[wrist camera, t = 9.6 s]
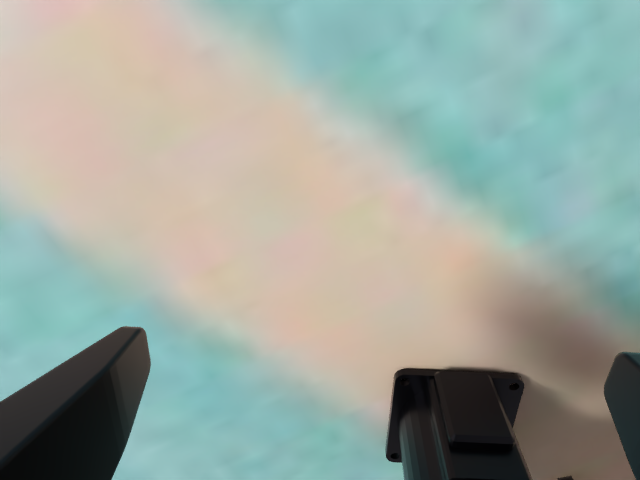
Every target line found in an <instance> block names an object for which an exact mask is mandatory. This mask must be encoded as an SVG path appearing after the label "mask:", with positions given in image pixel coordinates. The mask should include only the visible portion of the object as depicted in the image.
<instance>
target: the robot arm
mask: <svg viewBox="0 0 640 480" xmlns="http://www.w3.org/2000/svg"><path fill="white" fill-rule="evenodd" d="M150 365H151V361H150V355H149V348H148V342H147V336H146V332H145V330H144V329H143V328H141V327H127V326H124V327H120V328H118V329H117V330H115V331H114V332H112V333H110V334H109V335H107V336H106V337H104V338H102V339H101V340H99V341H97V342H96V343H94V344H93V345H91V346H89V347H88V348H86V349H85V350H83V351H81V352H80V353H78V354H77V355H75V356H73V357H72V358H70V359H68V360H67V361H65V362H64V363H62V364H60V365H59V366H57V367H56V368H54V369H52V370H51V371H49V372H48V373H46V374H44V375H43V376H41V377H39V378H38V379H36V380H35V381H33V382H31V383H30V384H28V385H27V386H25V387H23V388H22V389H20V390H19V391H17V392H15V393H14V394H12V395H10V396H9V397H7V398H6V399H4V400H2V401H1V402H0V480H111V479H112V477H113V475H114V472H115V470H116V468H117V466H118V463H119V461H120V459H121V457H122V454H123V452H124V449H125V447H126V444H127V441H128V438H129V435H130V432H131V429H132V426H133V423H134V420H135V417H136V413H137V410H138V407H139V404H140V401H141V398H142V394H143V391H144V388H145V385H146V382H147V379H148V375H149V372H150ZM403 378H406V379H407V380H401V379H403ZM512 383H515V384H513V385H510V384H512ZM523 389H524V383H523V381H522V379H521V377H520V376H519V375H518V374H512V373H488V372H464V371H439V370H415V369H401V370H399V371H397V372H396V373H395V375H394V381H393V390H392V398H391V407H390V416H389V424H388V433H387V441H386V458H387V459H388V460H389V461H391V462H402V464H403V472H404V480H532V477H531V475H530V472H529V470H528V467H527V465H526V462H525V460H524V457H523V455H522V452H521V449H520V447H519V444H518V442H517V439H516V437H515V434H514V432H513V429H512V428H513V425H514V421H515V417H516V414H517V410H518V407H519V403H520V400H521V396H522V393H523ZM604 395H605V399H606V402H607V405H608V407H609V410H610V413H611V415H612V418H613V421H614V424H615V426H616V429H617V432H618V434H619V437H620V440H621V442H622V445H623V448H624V451H625V453H626V456H627V459H628V461H629V464H630V466H631V469H632V471H633V474H634V476H635V478H636V480H640V353H631V352H622V353H619V354H618V355H617V356H616V357H615V359H614V362H613V364H612V367H611V369H610V372H609V374H608V377H607V379H606V382H605V385H604ZM558 480H573V478H572V476H567V477H562V478H558Z"/></svg>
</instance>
